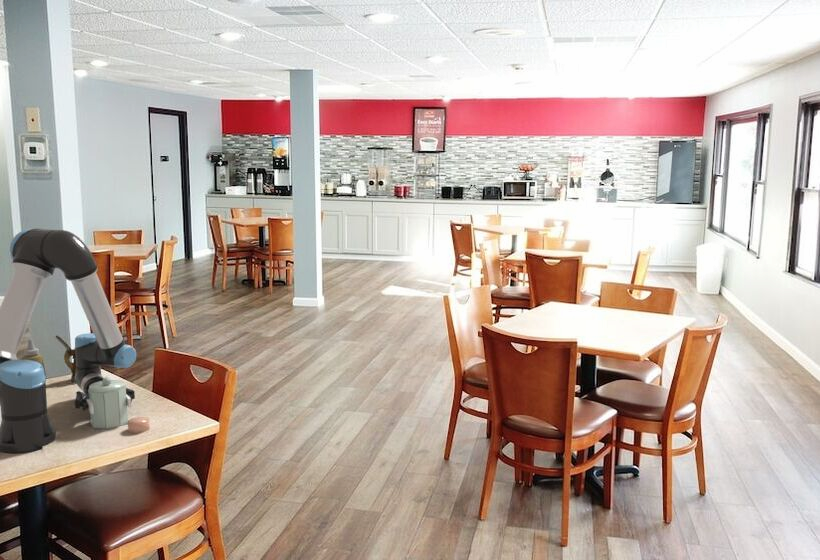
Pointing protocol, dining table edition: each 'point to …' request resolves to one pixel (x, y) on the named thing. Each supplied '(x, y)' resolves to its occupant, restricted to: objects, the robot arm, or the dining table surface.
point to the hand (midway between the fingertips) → (111, 406)
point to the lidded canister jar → (108, 403)
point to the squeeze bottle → (33, 354)
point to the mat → (107, 428)
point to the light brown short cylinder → (138, 425)
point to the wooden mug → (67, 356)
